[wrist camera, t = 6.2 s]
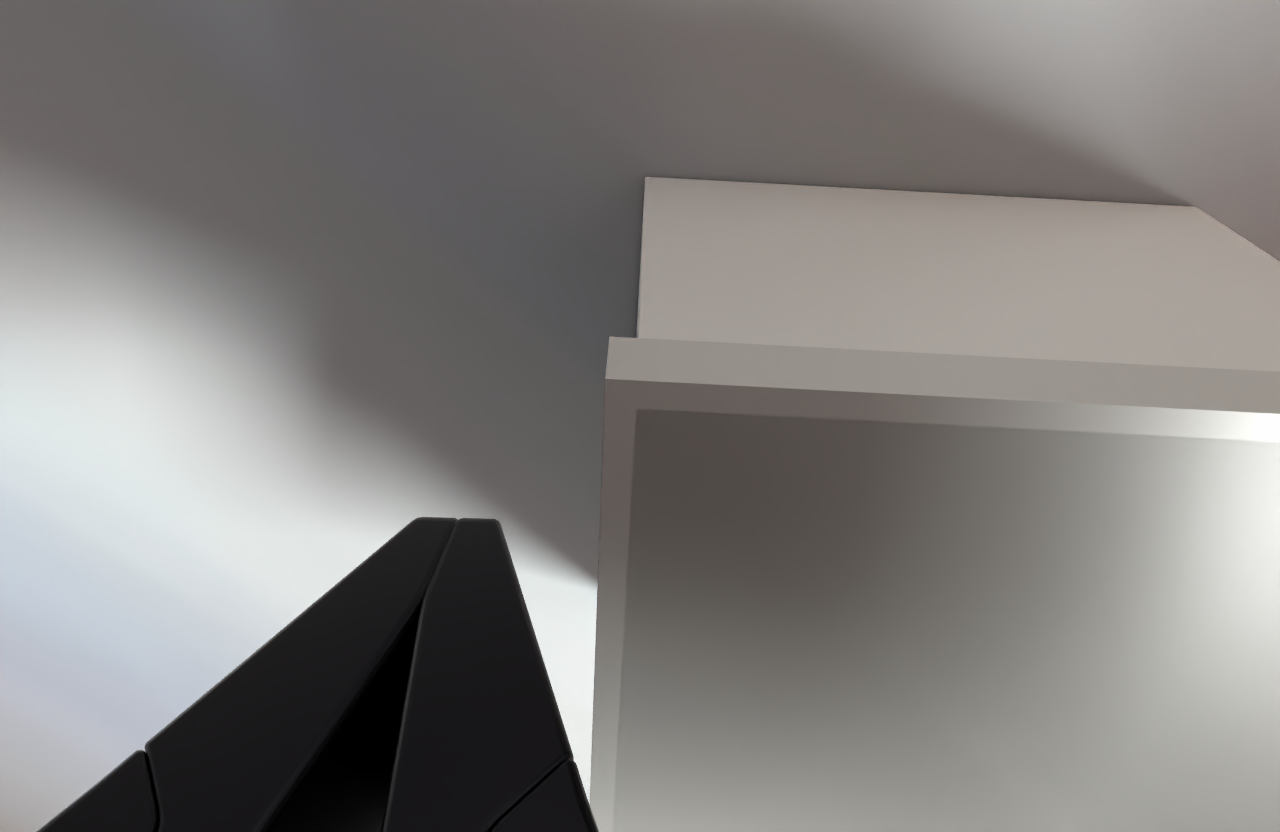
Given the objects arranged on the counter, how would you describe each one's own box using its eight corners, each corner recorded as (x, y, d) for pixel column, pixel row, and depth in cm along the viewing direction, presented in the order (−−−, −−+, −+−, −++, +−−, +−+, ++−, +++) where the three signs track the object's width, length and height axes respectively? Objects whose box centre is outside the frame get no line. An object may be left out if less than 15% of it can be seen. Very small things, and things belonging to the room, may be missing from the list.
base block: (1059, 632, 14) (1245, 997, 9) (607, 610, 13) (583, 967, 9) (1220, 189, 10) (1629, 432, 6) (627, 157, 10) (604, 378, 6)
